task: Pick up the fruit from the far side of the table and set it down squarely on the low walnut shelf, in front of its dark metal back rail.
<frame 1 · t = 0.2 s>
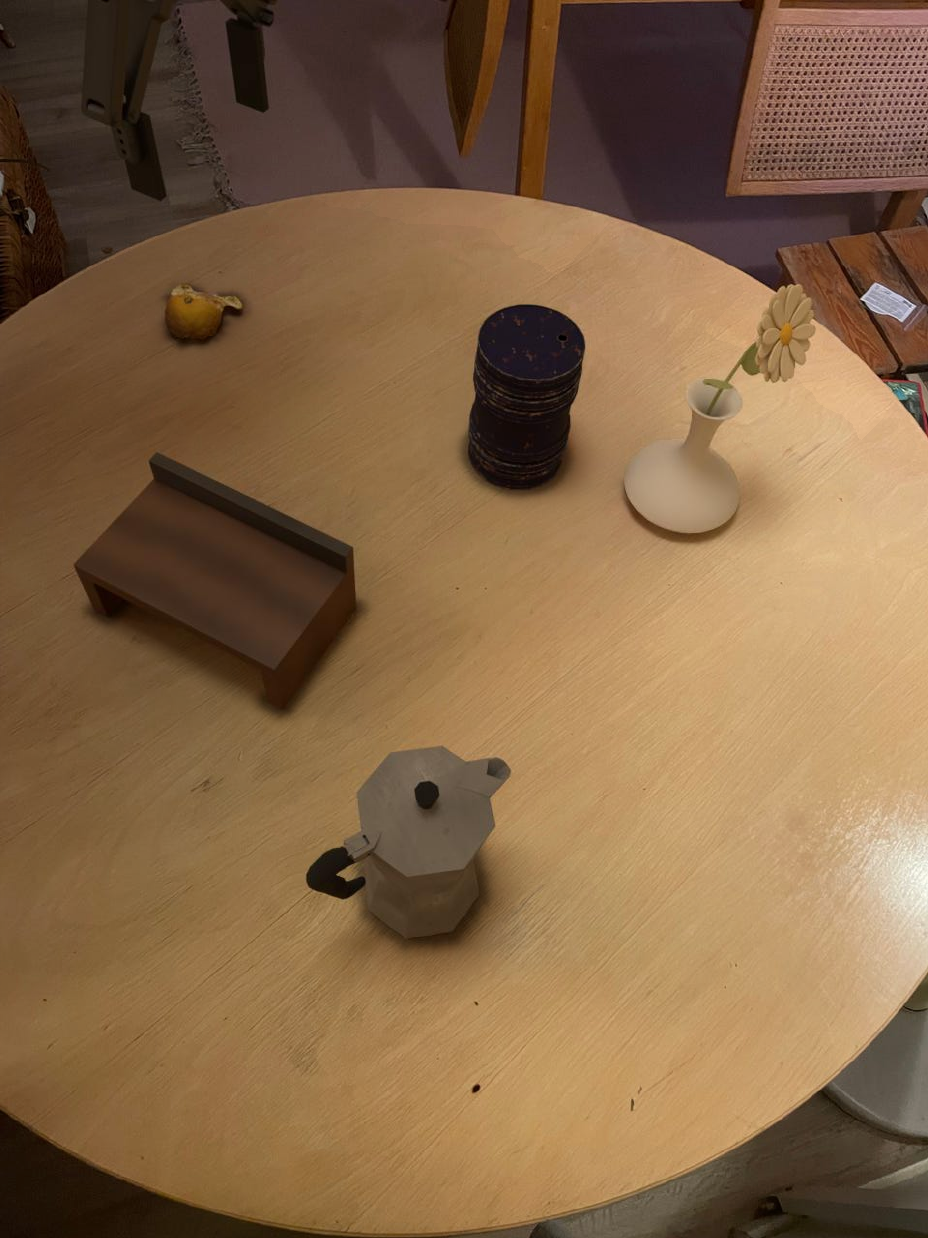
hand: (203, 147, 82), 29 cm above the table, tool pointing down, fingers open, 13 cm apart
flower in vase: (684, 495, 103), on the table
fruit: (205, 316, 113), on the table
dark blue barrel: (515, 454, 105), on the table
coffeepot: (408, 889, 81), on the table
shelf: (226, 608, 93), on the table
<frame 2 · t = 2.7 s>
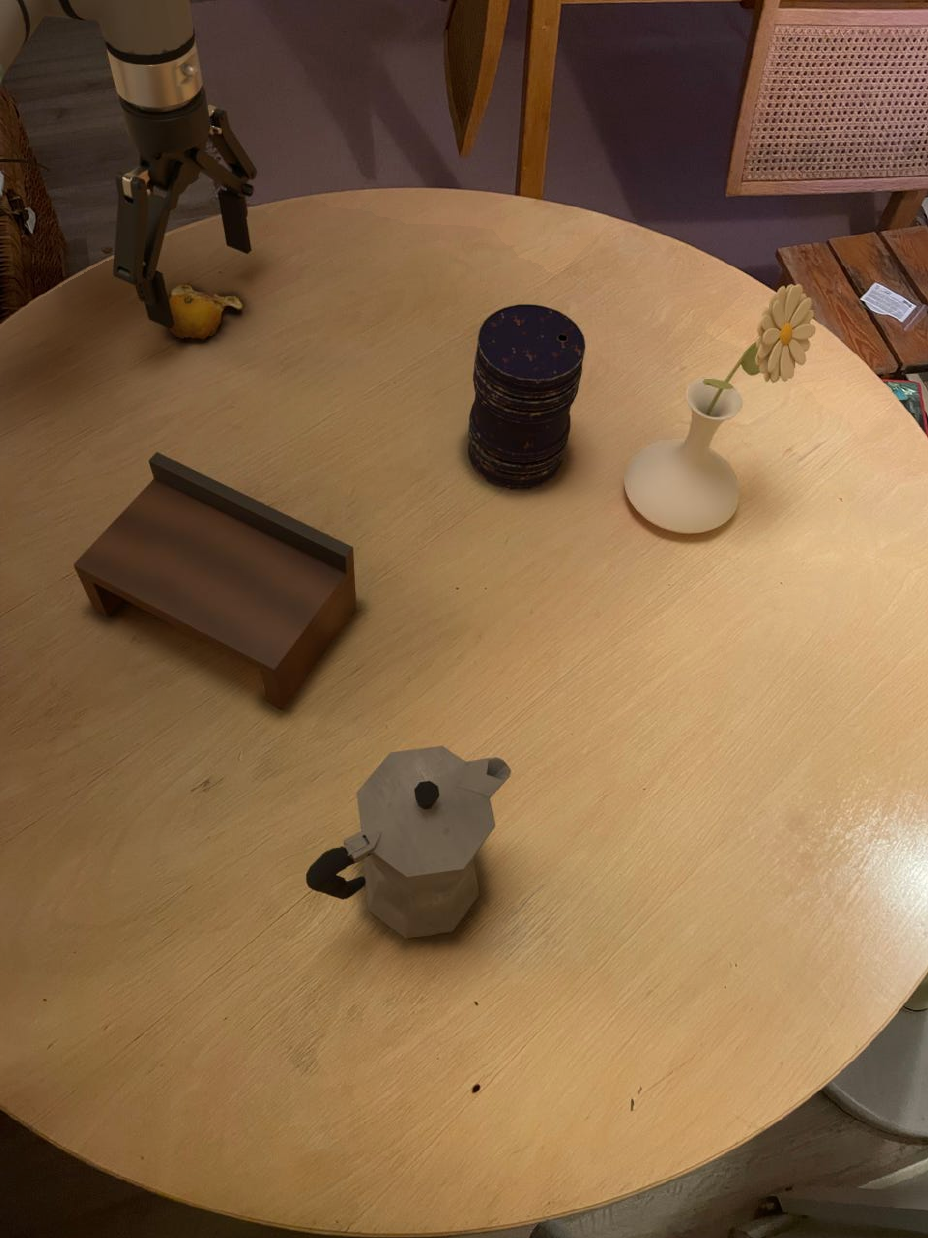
hand: (201, 284, 109), 4 cm above the table, tool pointing down, fingers open, 13 cm apart
nothing on the table moved.
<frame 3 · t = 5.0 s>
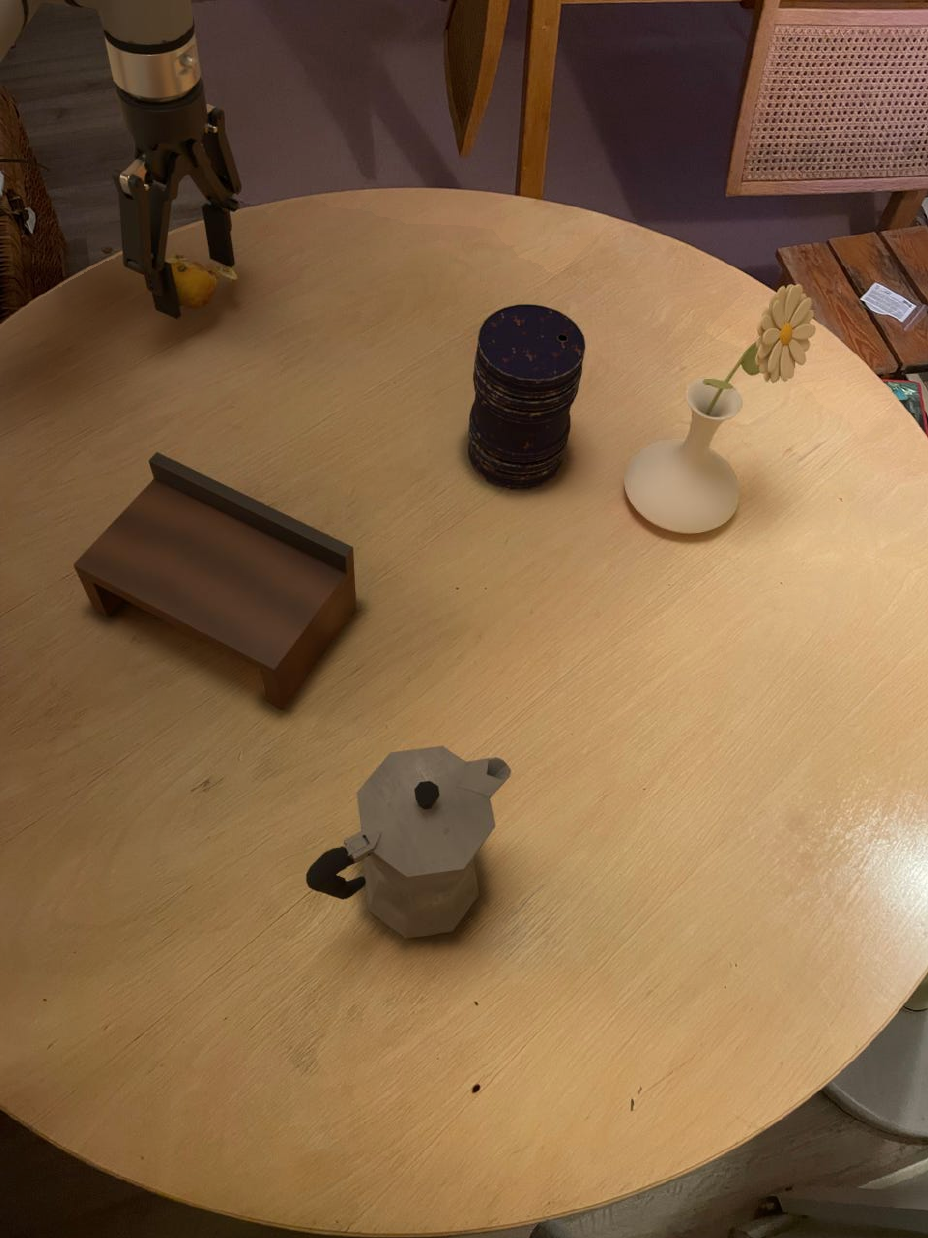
hand: (196, 286, 110), 4 cm above the table, tool pointing down, fingers closed on fruit, 9 cm apart
fruit: (199, 286, 110), point 3 cm above the table, touching gripper
everything else where it was.
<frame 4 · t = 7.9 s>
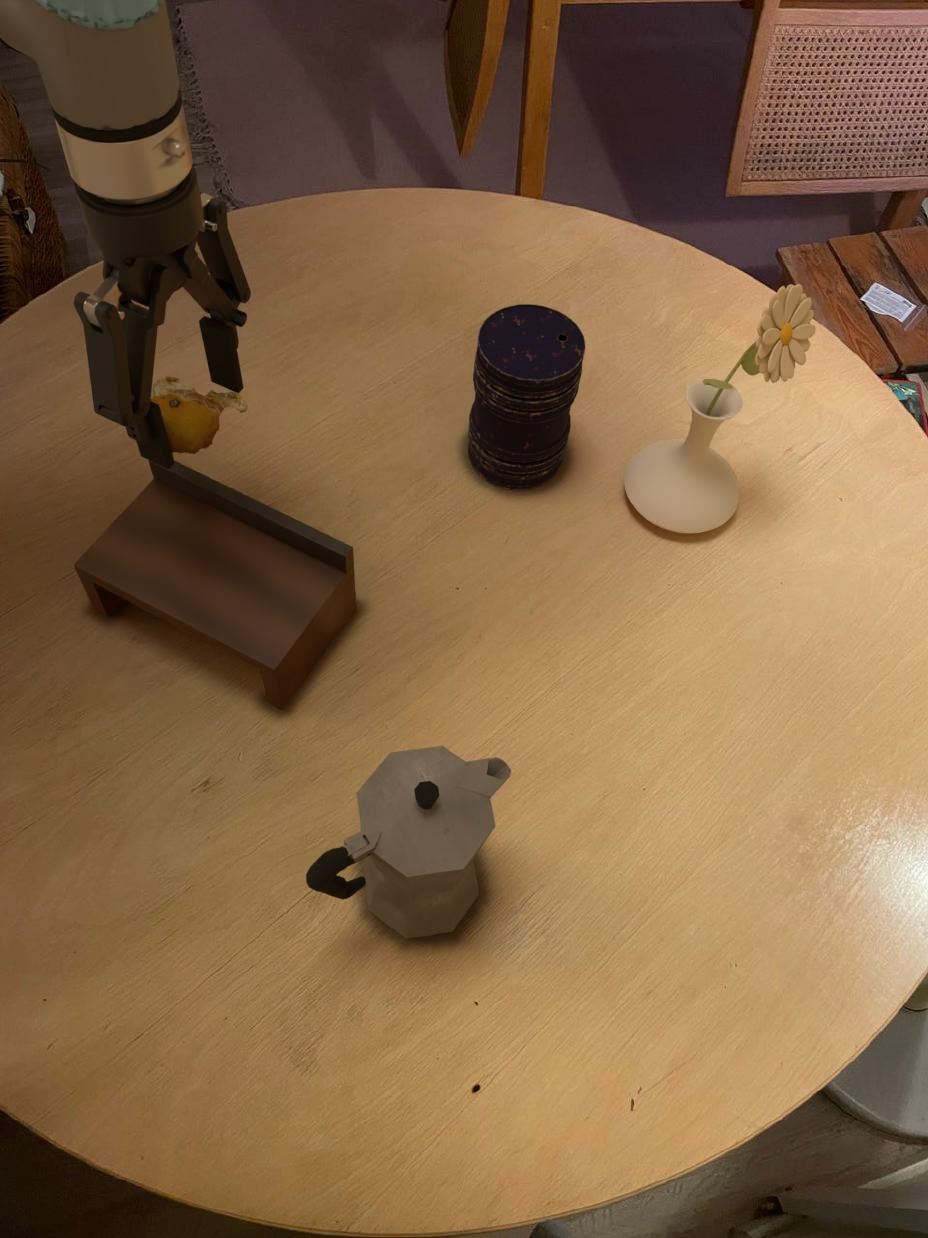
hand: (193, 421, 84), 16 cm above the table, tool pointing down, fingers closed on fruit, 9 cm apart
fruit: (198, 420, 85), point 15 cm above the table, touching gripper
everything else where it was.
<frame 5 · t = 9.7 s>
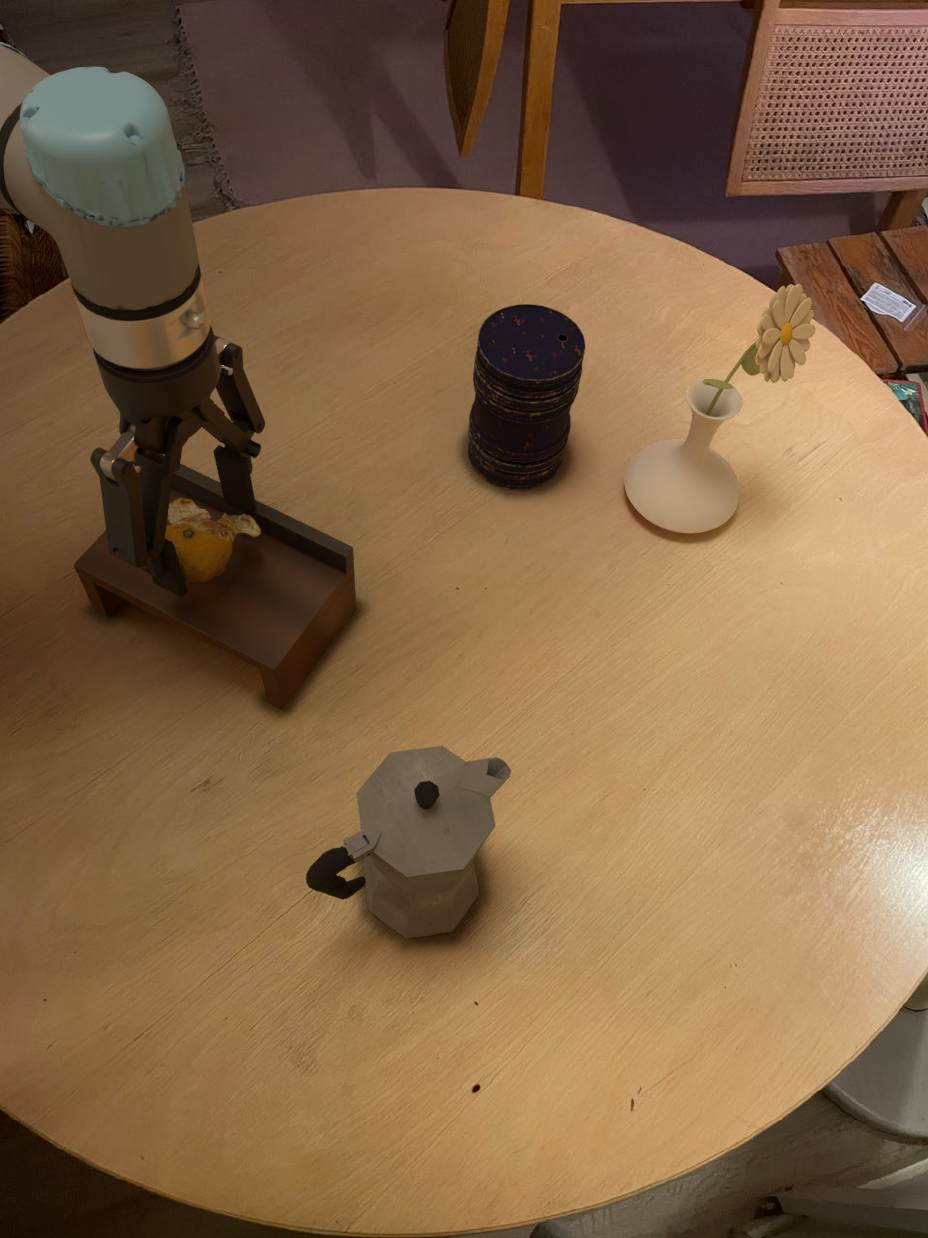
hand: (206, 545, 84), 10 cm above the table, tool pointing down, fingers closed on fruit, 9 cm apart
fruit: (211, 543, 85), point 10 cm above the table, touching gripper
everything else where it was.
when the fingers open (7 cm above the table, at t = 11.0 s): fruit stays where it is, point 7 cm above the table.
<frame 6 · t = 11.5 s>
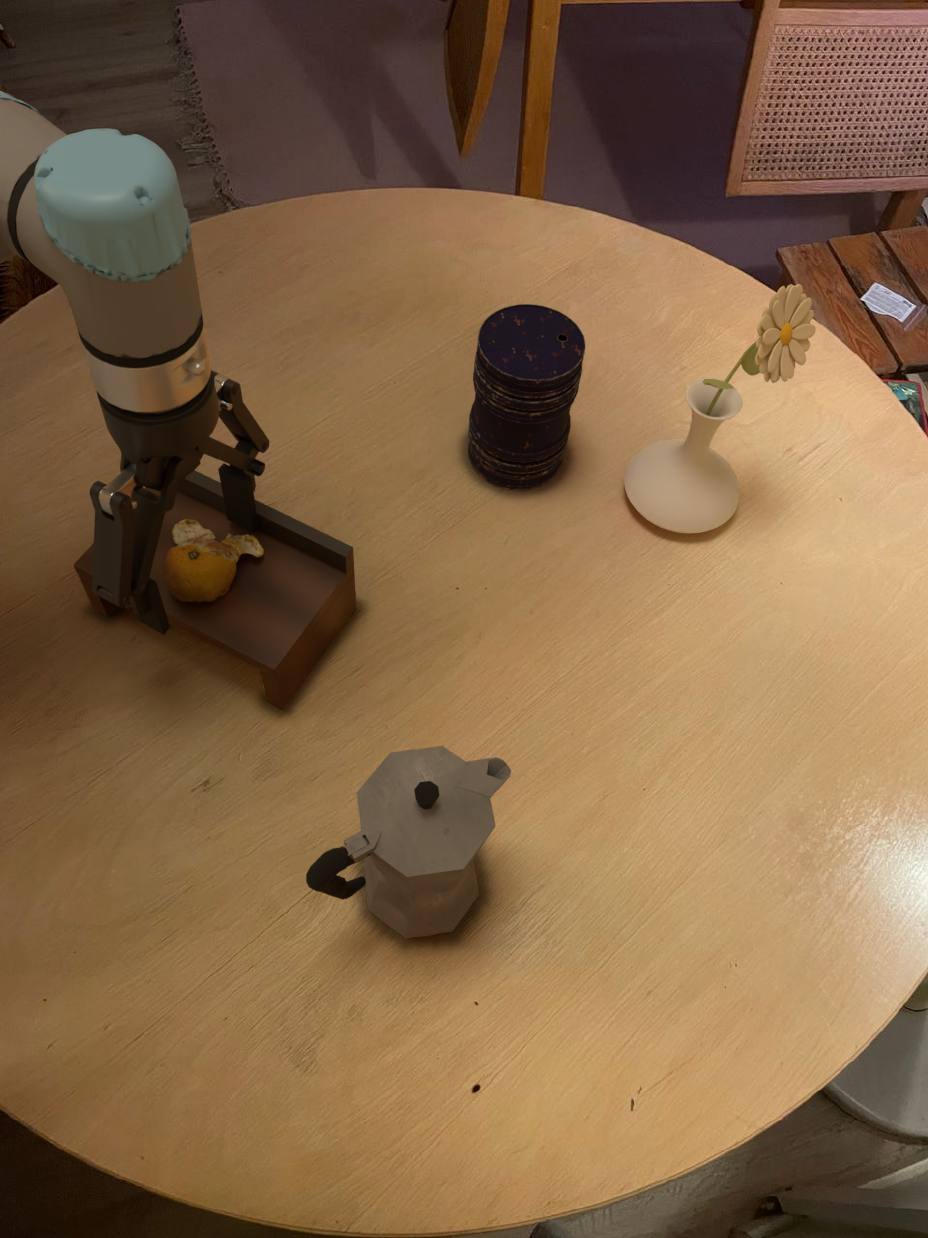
hand: (200, 571, 86), 8 cm above the table, tool pointing down, fingers open, 11 cm apart
fruit: (216, 563, 87), point 7 cm above the table
everything else where it was.
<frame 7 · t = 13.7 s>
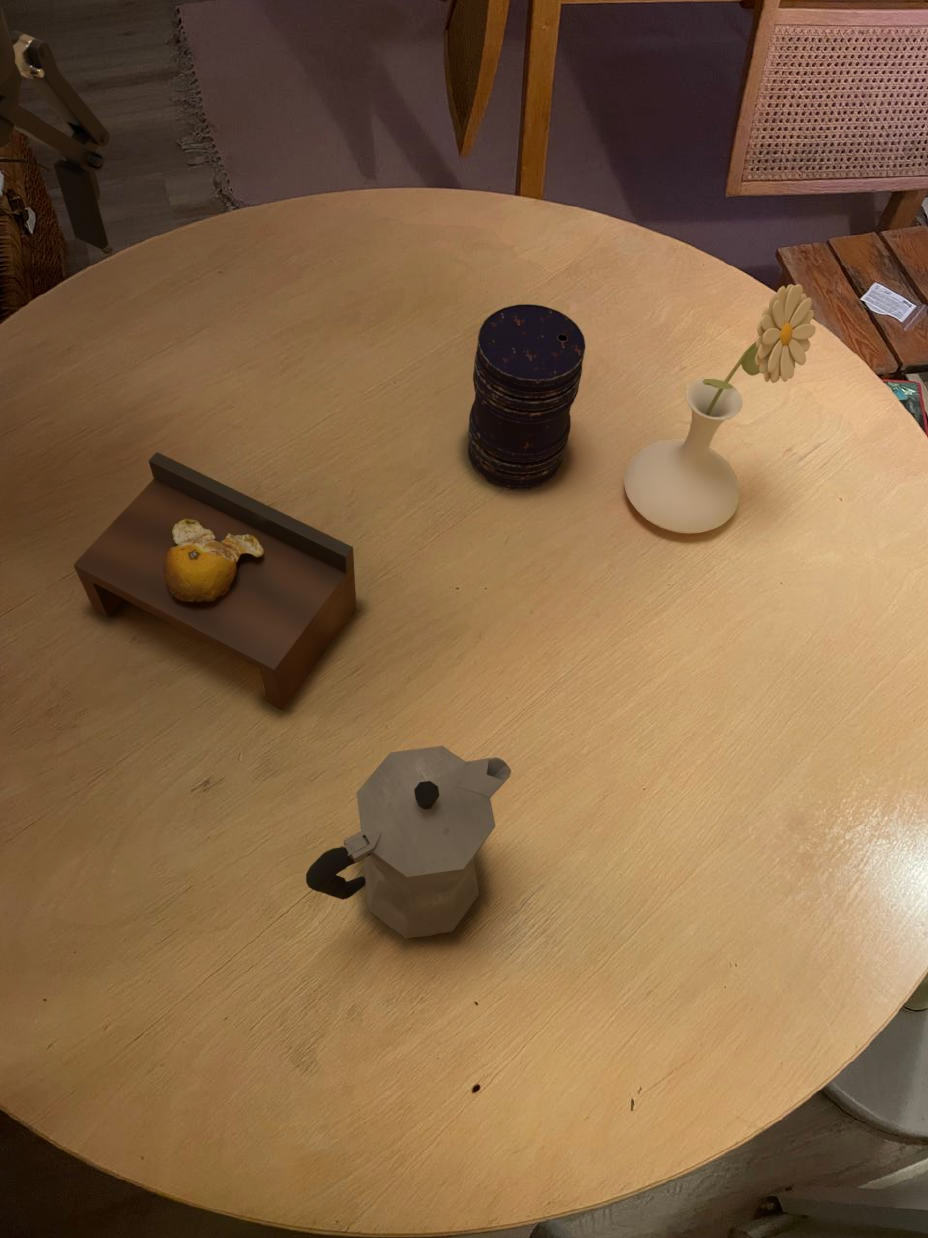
hand: (33, 290, 79), 24 cm above the table, tool pointing down, fingers open, 13 cm apart
fruit: (216, 563, 87), point 7 cm above the table, touching shelf
everything else where it was.
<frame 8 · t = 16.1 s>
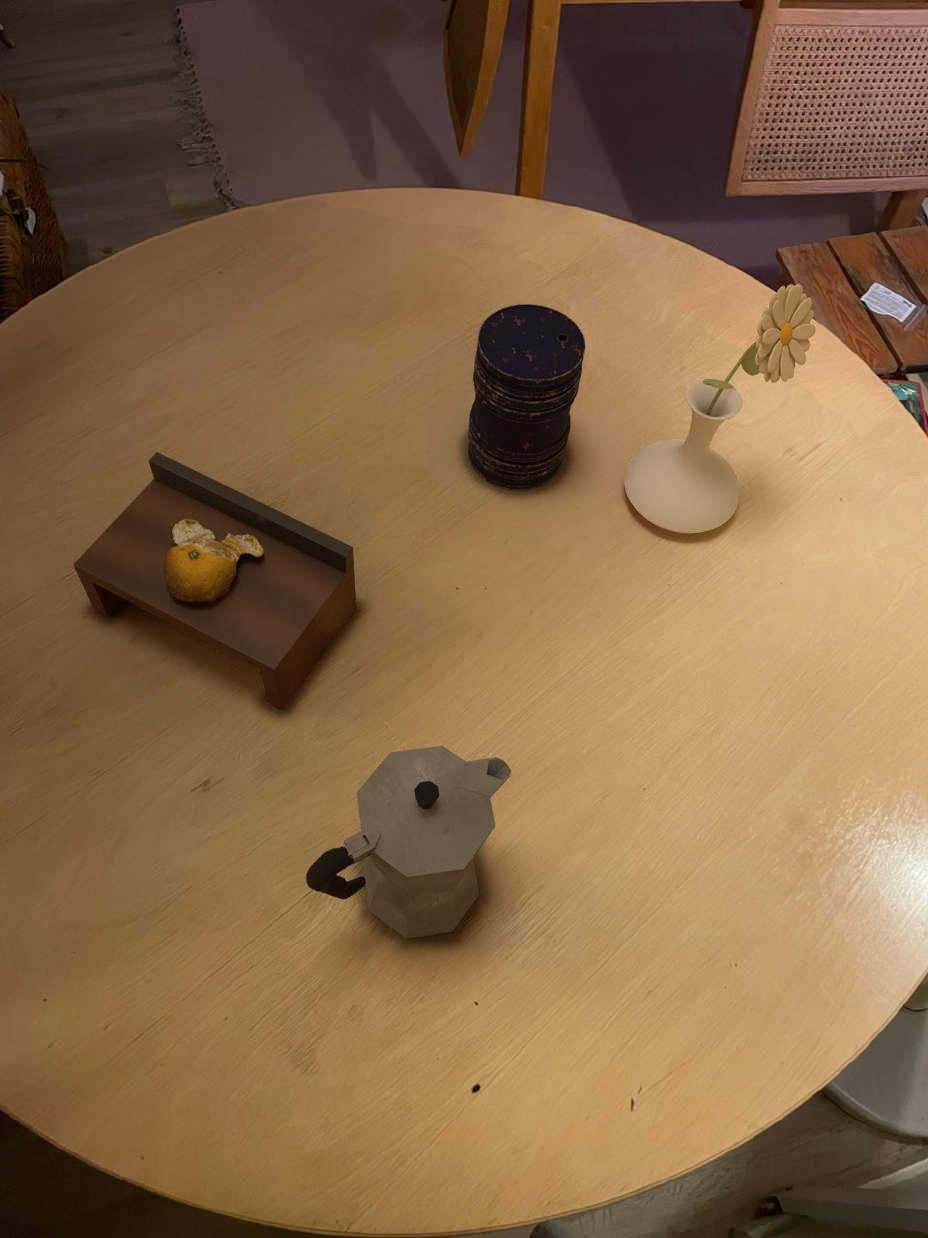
nothing on the table moved.
at the end: fruit inside the target area on the shelf (0.8 cm from its centre), point 6.8 cm above the shelf's base; fruit tilted 1°; the gripper is holding nothing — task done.
